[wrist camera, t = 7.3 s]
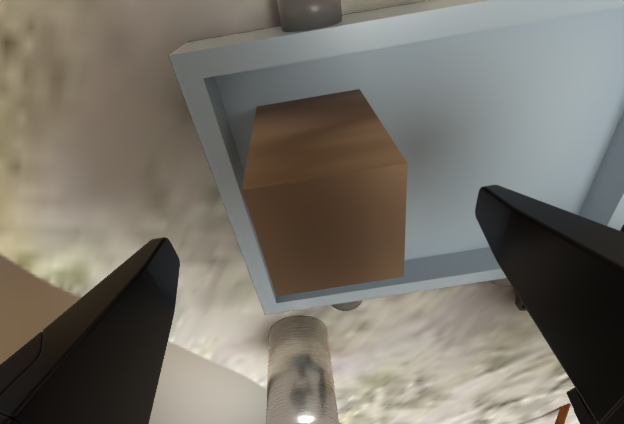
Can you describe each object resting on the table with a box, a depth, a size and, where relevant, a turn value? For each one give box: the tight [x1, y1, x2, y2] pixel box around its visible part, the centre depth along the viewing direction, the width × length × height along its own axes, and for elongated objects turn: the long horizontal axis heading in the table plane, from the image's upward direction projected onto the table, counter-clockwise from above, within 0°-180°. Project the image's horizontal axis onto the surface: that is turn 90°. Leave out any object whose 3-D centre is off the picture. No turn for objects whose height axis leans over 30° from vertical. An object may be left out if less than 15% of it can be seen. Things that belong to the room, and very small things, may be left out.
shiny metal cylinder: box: [266, 316, 339, 424], centre depth 20 cm, size 4×4×6 cm
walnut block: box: [242, 89, 408, 297], centre depth 11 cm, size 4×4×6 cm
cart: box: [169, 0, 624, 315], centre depth 15 cm, size 18×15×2 cm
